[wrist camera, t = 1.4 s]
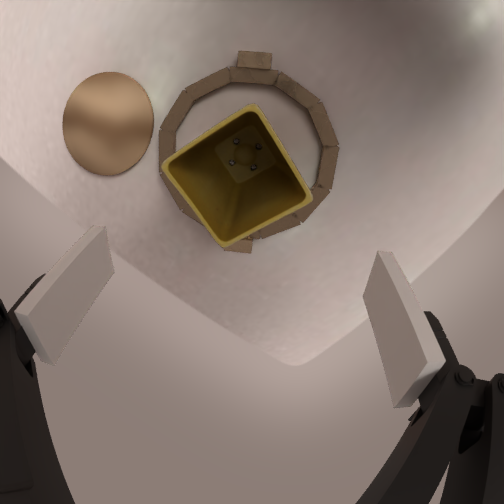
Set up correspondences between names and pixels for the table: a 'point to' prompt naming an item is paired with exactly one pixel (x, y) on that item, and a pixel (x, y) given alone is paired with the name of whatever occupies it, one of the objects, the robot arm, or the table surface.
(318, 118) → the socket ring
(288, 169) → the flower pot
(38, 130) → the table surface
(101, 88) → the coaster
